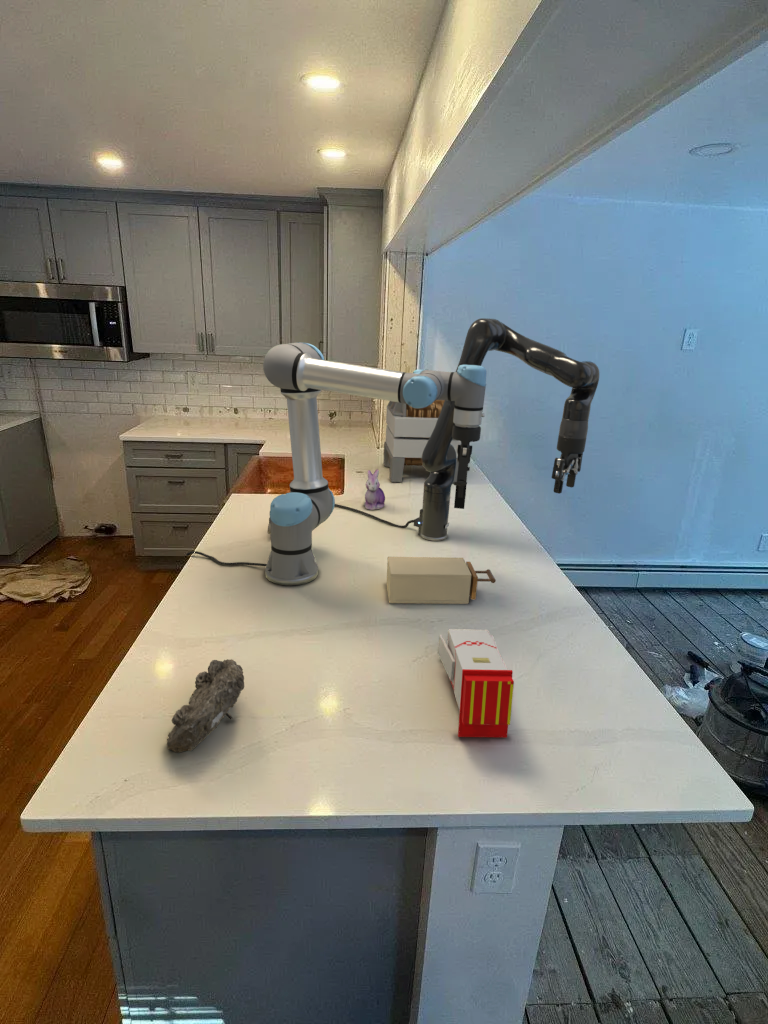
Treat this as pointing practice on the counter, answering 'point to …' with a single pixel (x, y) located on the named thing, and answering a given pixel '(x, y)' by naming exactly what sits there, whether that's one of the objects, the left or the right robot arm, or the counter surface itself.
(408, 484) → the counter surface
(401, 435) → the transformer
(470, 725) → the toy
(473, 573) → the drawer
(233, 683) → the fossil
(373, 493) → the figurine
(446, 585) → the cabinet
